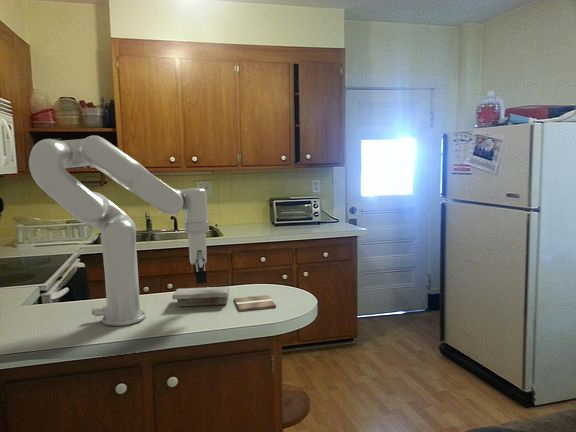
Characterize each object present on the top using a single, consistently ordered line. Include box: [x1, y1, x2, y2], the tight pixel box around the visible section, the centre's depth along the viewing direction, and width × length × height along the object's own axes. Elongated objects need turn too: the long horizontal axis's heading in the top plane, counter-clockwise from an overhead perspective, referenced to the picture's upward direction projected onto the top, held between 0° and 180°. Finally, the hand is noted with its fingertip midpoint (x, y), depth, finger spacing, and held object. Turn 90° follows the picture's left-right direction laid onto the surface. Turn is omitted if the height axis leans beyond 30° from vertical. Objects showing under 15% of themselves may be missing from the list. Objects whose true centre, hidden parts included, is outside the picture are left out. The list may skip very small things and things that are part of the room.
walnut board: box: [233, 294, 277, 312], centre depth 149 cm, size 12×12×1 cm
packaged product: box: [171, 286, 230, 307], centre depth 150 cm, size 18×5×10 cm
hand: (200, 279), depth 143 cm, fingers open, 9 cm apart
